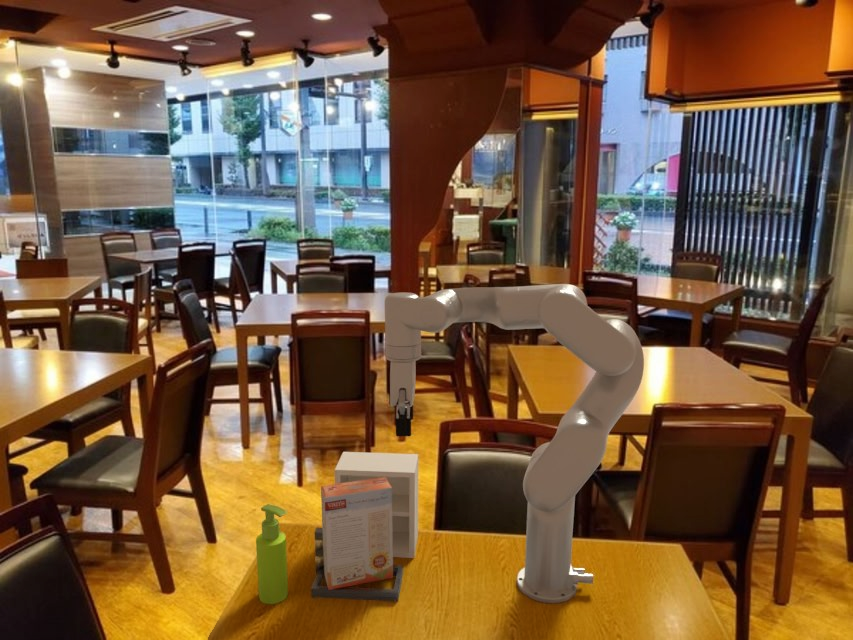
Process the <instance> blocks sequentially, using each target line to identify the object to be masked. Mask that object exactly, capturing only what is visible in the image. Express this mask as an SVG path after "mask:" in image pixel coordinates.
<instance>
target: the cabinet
mask: <svg viewBox="0 0 853 640" xmlns="http://www.w3.org/2000/svg"><path fill="white" fill-rule="evenodd" d="M381 477H385V478H386V479H387V481H388V482H389V484H390V486H391V487H392V535H393V558H404V559H405V558H407V559H415V558H416V550H417V543H418V538H419V537H418V536H419V454H417V453H395V452H393V453H392V452H391V453H390V452H388V453H387V452H364V451H363V452H362V451H360V452H359V451H343V452H342V453H341V455H340V458H339V460H338V461H337V465H336V467H335V468H334V484H339V483H346V482H353V481H360V480H367V479H374V478H381Z"/></svg>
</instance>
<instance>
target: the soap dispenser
mask: <svg viewBox="0 0 853 640" xmlns="http://www.w3.org/2000/svg"><path fill="white" fill-rule="evenodd" d="M260 510H261V511H263V512H264V513H265V519H263V520H262V521H261V533H260V534H259V535H257V536H256V539H255V545H256V547H255V549H256V565H257V569H256V570H257V583H258V584H257V585H258V599H259V601H260V602H262V603H263V604H266V605H275V604H276V605H277V604H279V603H281V602H283V601H285V600H286V599H287V597H288V596H289V585H288V582H289V581H288V564H287V563H288V561H287V560H288V558H287V539H286V537H287V535H286V534H285V532H283V531H280V522H279V521H280V520H279V519H278V518H281V517H283V516H285V515H286V514H287V513H288V511H287V510H285V509H284V508H282V507H280V506H277V505H275V504H270V503H267V504H266V505H263V506H262V507H260ZM275 516H277V517H278V518H275Z"/></svg>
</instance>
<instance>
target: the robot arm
mask: <svg viewBox="0 0 853 640" xmlns="http://www.w3.org/2000/svg"><path fill="white" fill-rule="evenodd" d="M470 322H471V323H475V322H477V323H478V322H479V323H489V324H492V325H494V326H496V327H498V328H500V329H503V330H507V331H508V330H509V331H510V330H511V331H512V330H525V329H527V330H529V329H530V330H531V329H532V330H533V329H534V330H535V329H544V330H545V331H546V332H547V333H548V334H549V335H550V336H551V337H552V338H554V339H555V340H556V341H557V342H558V343H560V344H561V345H562V347H564V348H565V349H567V350H568V351H569V352H571V353H572V354H573V355H574V356H576V357H577V358H578V359H579V360H580V361H582V362H583V364H585V365H587V366H588V367H589V368H591V369H592V370H594V371H595V373H594V375H593V377H592V378H591V380H589V383H588V384H587V385H586V387H585V388H584V390H583V391H582V392H581V394H580V395H579V396H578V398H577V399H576V400H575V401H574V403H573V404H572V405H571V407H570V408H568V410H567V411H566V412H565V413H564V414H563V416H561V419H560V420H559V424H558V427H557V429H556V433H555V435H554V436H553V437H552V439H551V441H547V442H545V443H543V444H541V445H539V446H538V447H537V448H536V449H534V451H533V452H532V455H531V457H530V459H529V461H528V465H527V468H526V471H525V474H524V476H523V480H522V481H523V482H522V488H523V490H522V491H523V495H524V497H525V499H526V501H527V508H526V509H527V512H526V530H525V531H526V535H525V536H526V537H525V554H524V555H525V558H524V559H525V560H524V567H523V568H521V569H520V570H519V571H518V572H517V576H516V585H517V588H518V589H519V590H520V592H521V593H522V594H523V595H525V596H526V597H528V598H530V599H532V600H534V601H537V602H541V603H545V604H546V603H547V604H558V603H562V602H566V601H568V600H571V599H572V598H573V597H574V596H575V595H576V593H577V591H578V584H581V583H582V584H593V583H594V575H593V573H586V569H585V567H574V566H572V548H573V532H574V530H573V529H574V521H575V520H574V517H575V503H576V502H575V501H576V495H577V494H578V492H579V491H580V490H581V489H582V487H583V486H584V485H585V483H586V482H587V481H588V480H589V479H590V477H591V476H592V475H593V474H594V472H596V470H597V469H598V467H599V466H600V464H601V462H602V461H603V459H604V456H605V454H606V451H607V450H606V449H607V444H608V438H609V434H610V432H611V431H612V429H613V427H615V426H616V425H615V424H616V423H617V422H618V421H619V419H620V418H621V417H622V416H623V414H624V413H625V411H626V409H628V407H629V406H630V404H631V403H632V401H633V400H634V398H635V397H636V395H637V393H638V391H639V389H640V386H641V383H642V380H643V375H644V365H645V359H644V358H645V357H644V352H643V347H642V344H641V341H640V338H639V337H638V335H637V334H636V332H635V330H634V329H633V328H632V327H631V325H629V324H628V323H626V322H625V321H623V320H621V319H616V318H612V319H611V318H610V319H607V320H605V319H604V318H603V317H601V316H600V314H598V313H597V312H595V311H594V309H592V308H591V307H590V306H588V300H587V297H586V295H585V293H584V292H583V290H581V288H580V287H578V286H576V285H574V284H569V283H557V284H556V283H555V284H554V283H553V284H542V285H541V284H538V285H524V286H522V285H521V286H502V287H501V286H494V287H493V286H492V287H487V286H486V287H485V286H484V287H483V286H482V287H459V288H458V287H457V288H445V289H441V290H438V291H435V292H433V293H431V294H430V295H427V296H424V297H420V296H419V295H418V294H416V293H413V292H406V291H405V292H404V291H403V292H392V293H389V294H388V295H386V297H385V299H384V331H385V333H384V335H385V337H384V338H385V359H386V361H389V362H390V369H389V370H390V371H389V394H390V395H389V406H391V408H394V407H395V406H396V412H395V413H396V417H395V436H396V437H411V436H412V420H413V419H414V400H415V395H416V393H415V392H416V377H417V376H416V375H417V374H416V371H417V370H416V365H417V362H416V361H419V360H421V359H422V332H425V333H430V334H432V333H433V334H435V333H436V334H437V333H441V332H443V331H444V330H446V329H447V328H449V327H450V326H451V325H452V324H455V323H456V324H457V323H470Z"/></svg>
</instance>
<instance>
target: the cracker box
mask: <svg viewBox="0 0 853 640" xmlns="http://www.w3.org/2000/svg"><path fill="white" fill-rule="evenodd" d="M320 496H321V497H320V498H321V524H322V525H321V528H323V553H324V579H325V582H326V586H328V590H331V589H336V588H342V587H352V586H356V585H361V584H366V583H373V582H377V581H382V580H388V579H392V578H393V577H394V576H393V565H394V557H393V535H392V487H391V486H390V484H389V482H388V481H387V479H386V478H385V477H381V478H374V479H367V480H360V481H353V482H346V483H339V484H335V483H331V484H325V485H321V486H320Z"/></svg>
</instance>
